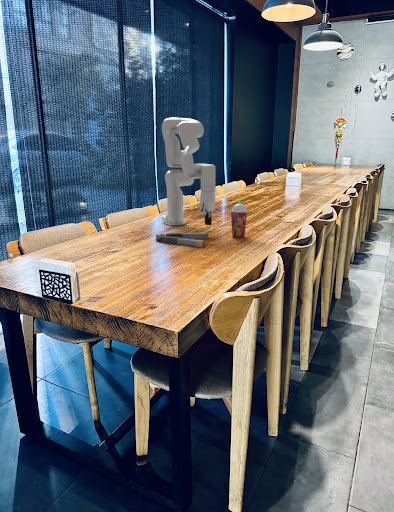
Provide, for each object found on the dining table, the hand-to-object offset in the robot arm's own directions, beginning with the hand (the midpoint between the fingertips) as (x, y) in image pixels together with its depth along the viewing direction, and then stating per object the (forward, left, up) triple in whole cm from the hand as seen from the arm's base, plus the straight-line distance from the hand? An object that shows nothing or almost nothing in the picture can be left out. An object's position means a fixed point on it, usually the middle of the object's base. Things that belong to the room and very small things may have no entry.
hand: (208, 224), depth 196 cm
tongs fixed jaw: (-3, -23, -5) cm, 24 cm away
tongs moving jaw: (-8, -14, -5) cm, 17 cm away
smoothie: (+15, +4, -6) cm, 17 cm away
